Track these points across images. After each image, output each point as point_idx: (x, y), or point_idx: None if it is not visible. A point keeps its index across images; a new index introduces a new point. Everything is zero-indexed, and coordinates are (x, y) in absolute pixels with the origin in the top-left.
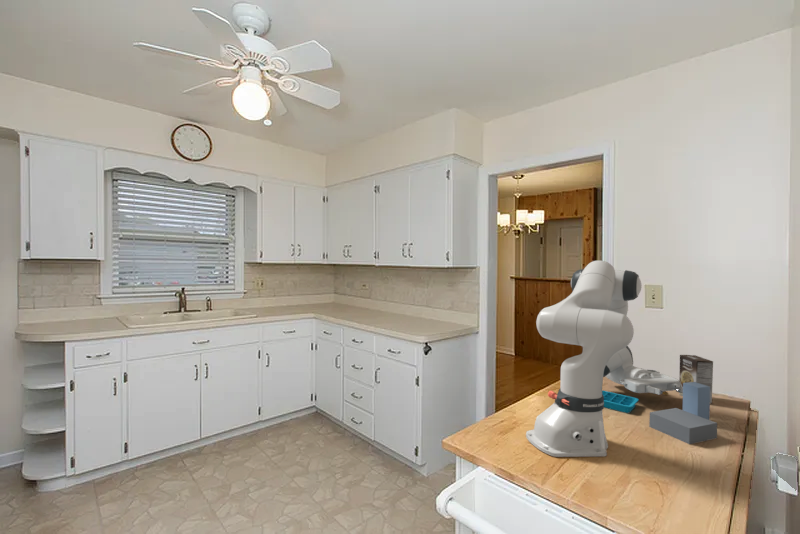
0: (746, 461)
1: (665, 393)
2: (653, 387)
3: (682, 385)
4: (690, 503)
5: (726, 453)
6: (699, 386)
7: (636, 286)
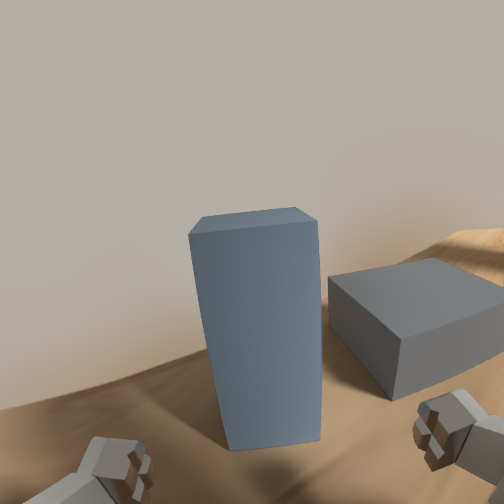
0: None
1: None
2: (499, 428)
3: None
4: (477, 237)
5: None
6: (263, 212)
7: None
